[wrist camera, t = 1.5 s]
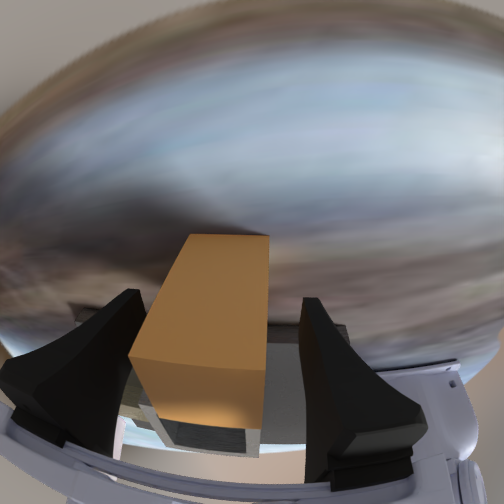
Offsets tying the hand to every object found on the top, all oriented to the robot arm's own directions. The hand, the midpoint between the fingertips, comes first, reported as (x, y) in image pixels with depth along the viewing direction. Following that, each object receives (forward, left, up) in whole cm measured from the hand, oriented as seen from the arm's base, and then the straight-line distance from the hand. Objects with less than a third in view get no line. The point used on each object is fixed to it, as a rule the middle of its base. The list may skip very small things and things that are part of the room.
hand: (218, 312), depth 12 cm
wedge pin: (0, 0, -4) cm, 4 cm away
